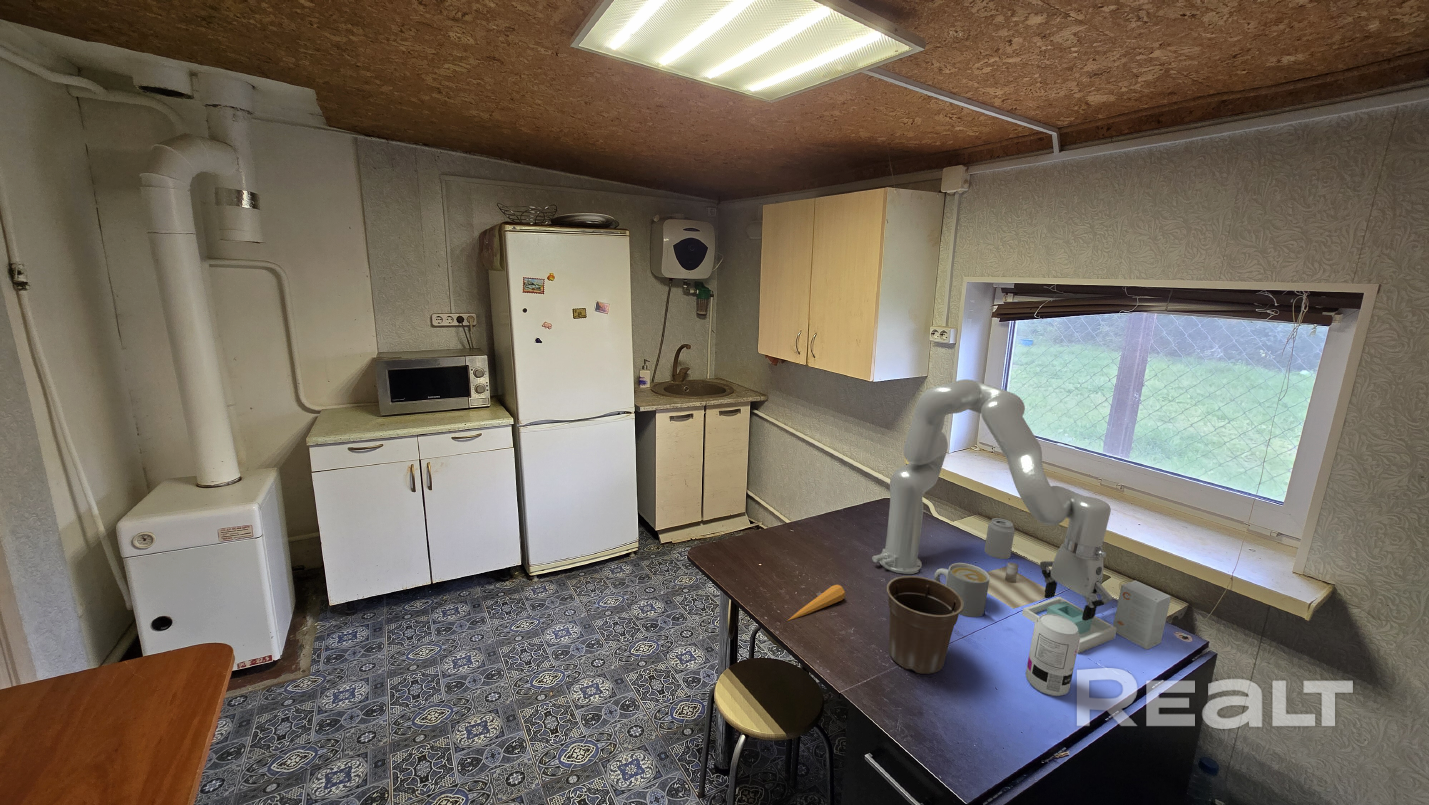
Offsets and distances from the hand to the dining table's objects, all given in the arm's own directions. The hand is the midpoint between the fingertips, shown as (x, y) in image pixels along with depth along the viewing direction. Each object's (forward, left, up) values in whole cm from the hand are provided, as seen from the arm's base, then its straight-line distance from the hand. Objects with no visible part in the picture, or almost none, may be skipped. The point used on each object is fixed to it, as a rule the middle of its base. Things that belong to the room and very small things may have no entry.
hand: (1067, 607), depth 138 cm
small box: (+13, -10, -6) cm, 17 cm away
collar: (0, -1, -5) cm, 5 cm away
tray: (0, -1, -6) cm, 6 cm away
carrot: (-55, +31, -6) cm, 63 cm away
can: (+16, +32, -6) cm, 37 cm away
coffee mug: (-17, +18, -6) cm, 26 cm away
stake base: (+2, +17, -6) cm, 18 cm away
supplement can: (-24, -12, -6) cm, 27 cm away
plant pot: (-44, +6, -6) cm, 45 cm away
